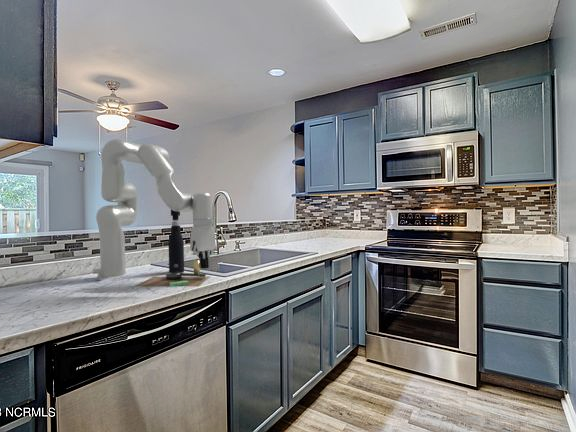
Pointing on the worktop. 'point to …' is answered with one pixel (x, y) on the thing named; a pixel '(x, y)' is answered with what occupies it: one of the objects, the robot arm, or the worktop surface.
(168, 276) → the tuning dial
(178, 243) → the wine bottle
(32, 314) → the worktop surface
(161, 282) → the board
